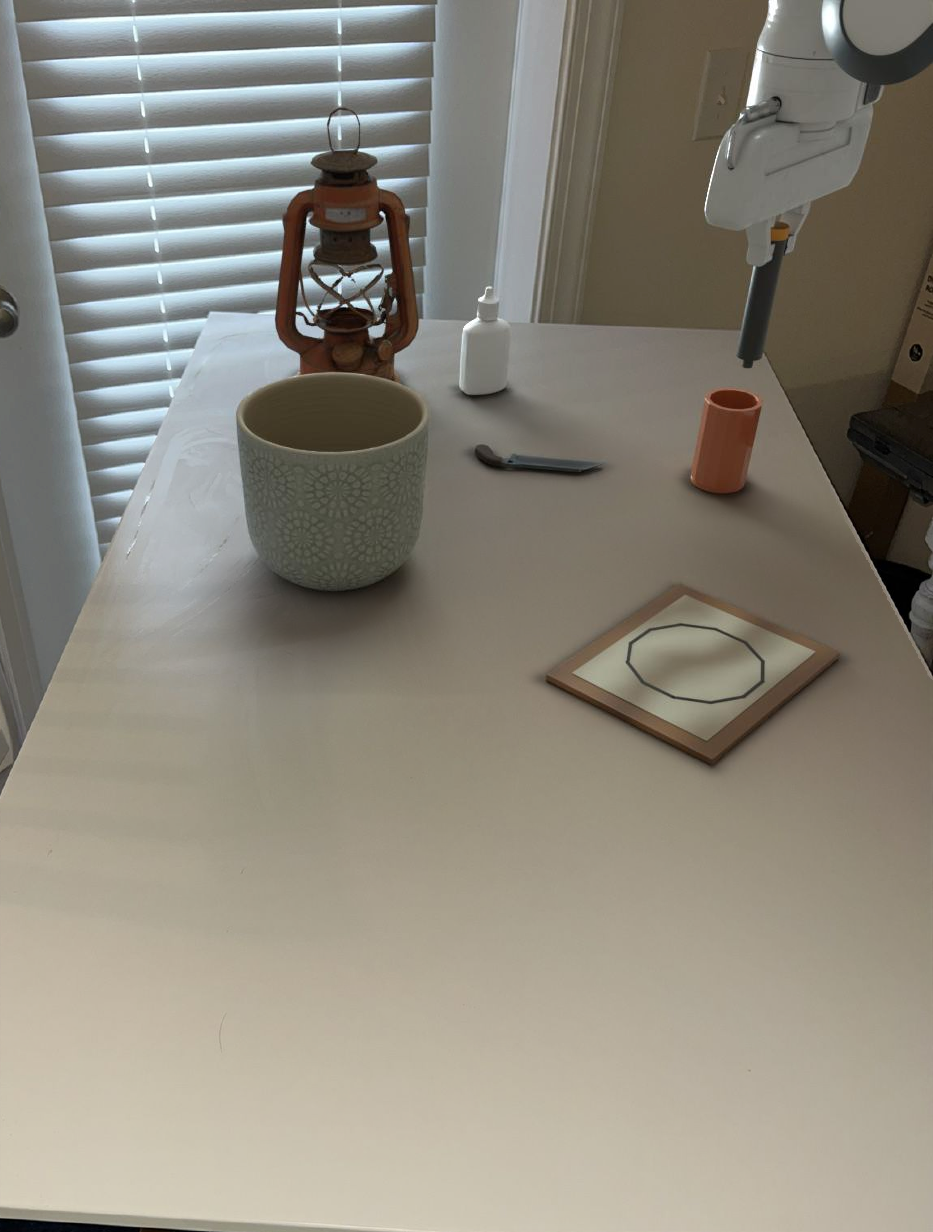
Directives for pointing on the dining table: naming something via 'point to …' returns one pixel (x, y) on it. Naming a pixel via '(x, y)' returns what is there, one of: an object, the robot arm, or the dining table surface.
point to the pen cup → (725, 440)
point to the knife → (534, 461)
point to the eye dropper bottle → (485, 349)
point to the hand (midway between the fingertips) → (769, 258)
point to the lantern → (345, 220)
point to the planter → (333, 476)
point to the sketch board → (694, 671)
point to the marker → (761, 300)
